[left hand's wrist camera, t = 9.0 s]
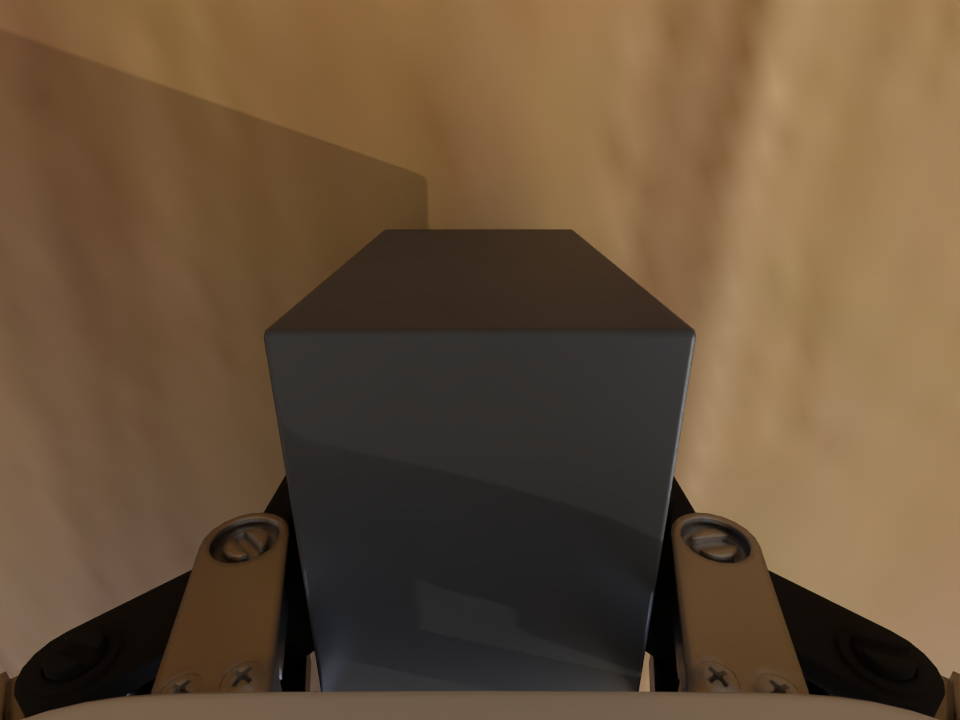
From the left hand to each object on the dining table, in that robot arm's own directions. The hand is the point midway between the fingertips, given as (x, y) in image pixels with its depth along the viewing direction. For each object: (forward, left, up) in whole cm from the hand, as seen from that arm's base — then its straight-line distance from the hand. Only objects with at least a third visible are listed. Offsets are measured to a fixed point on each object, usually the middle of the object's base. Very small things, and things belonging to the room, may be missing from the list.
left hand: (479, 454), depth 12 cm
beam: (+26, +19, -2) cm, 32 cm away
